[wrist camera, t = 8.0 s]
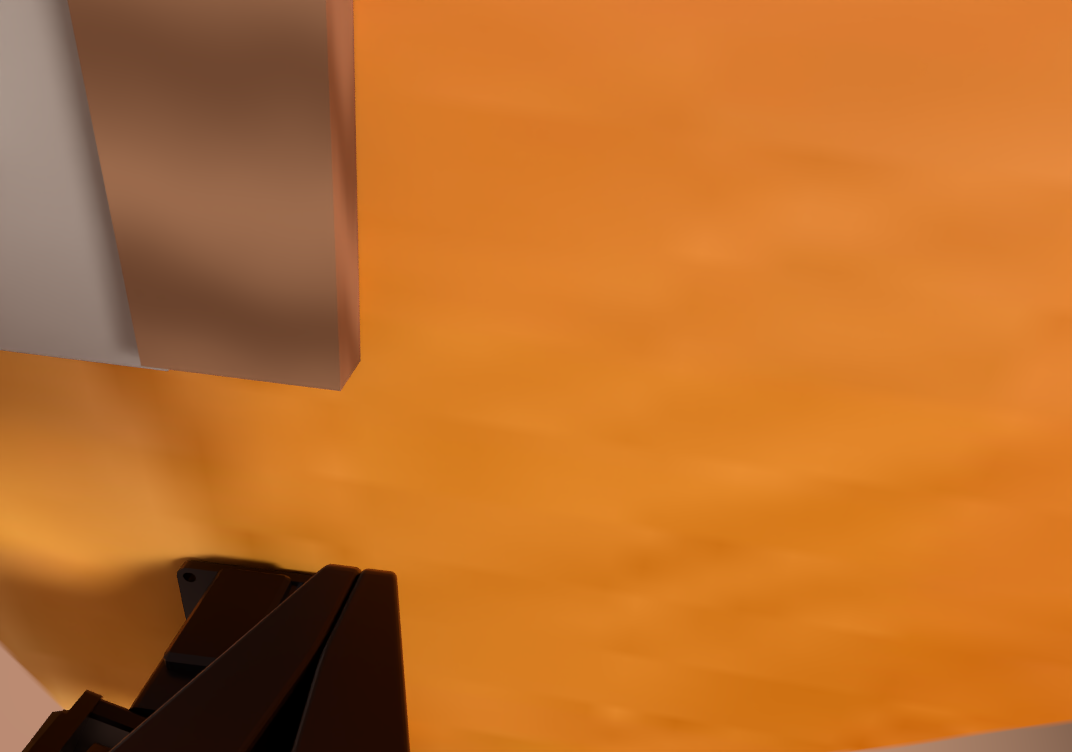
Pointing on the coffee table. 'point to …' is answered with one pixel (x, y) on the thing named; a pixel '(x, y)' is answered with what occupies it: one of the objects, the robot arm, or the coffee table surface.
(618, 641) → the coffee table surface
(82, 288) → the mat
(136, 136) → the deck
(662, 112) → the coffee table surface
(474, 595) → the coffee table surface
